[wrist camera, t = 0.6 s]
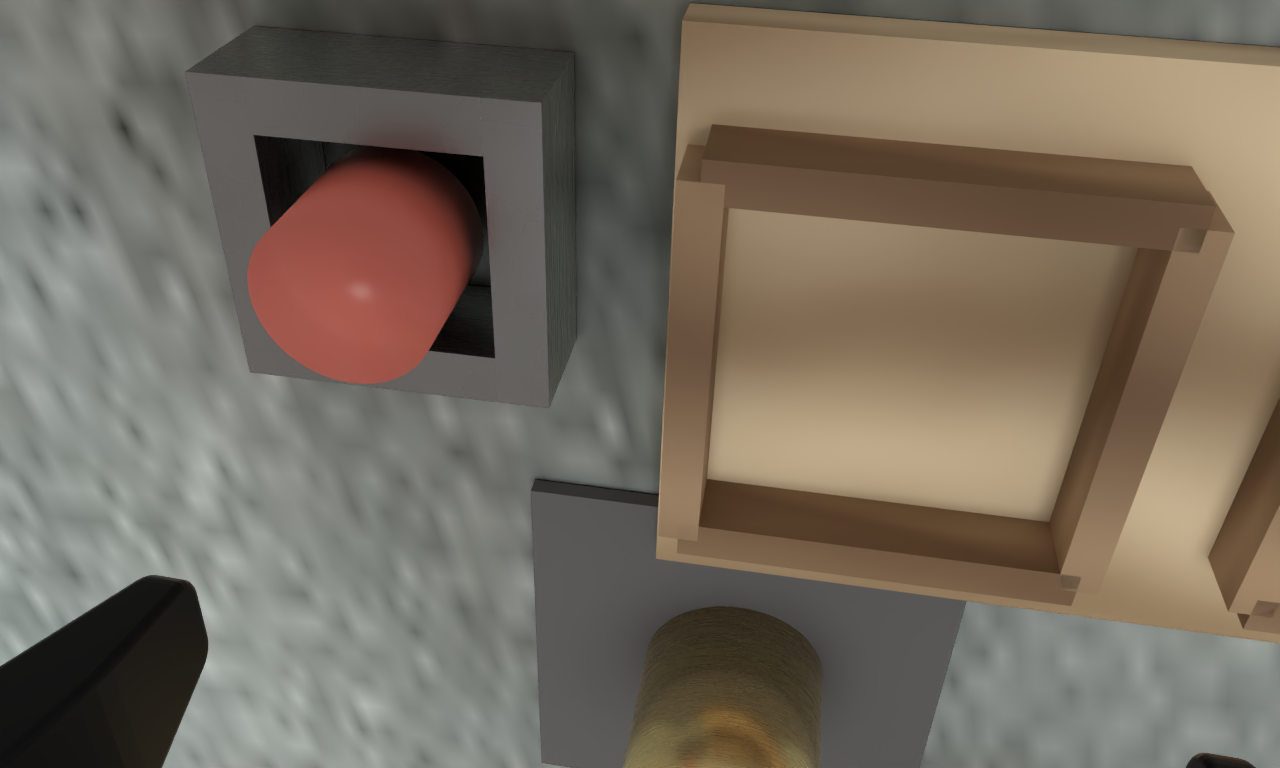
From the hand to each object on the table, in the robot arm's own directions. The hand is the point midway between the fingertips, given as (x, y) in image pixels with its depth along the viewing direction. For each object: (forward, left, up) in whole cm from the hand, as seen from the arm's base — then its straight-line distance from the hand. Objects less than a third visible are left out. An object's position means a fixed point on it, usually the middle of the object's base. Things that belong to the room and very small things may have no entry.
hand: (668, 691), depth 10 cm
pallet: (-4, -9, -12) cm, 15 cm away
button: (-1, +6, -11) cm, 13 cm away
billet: (-14, -1, -12) cm, 18 cm away
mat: (-14, -1, -12) cm, 18 cm away
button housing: (-2, +6, -12) cm, 14 cm away
